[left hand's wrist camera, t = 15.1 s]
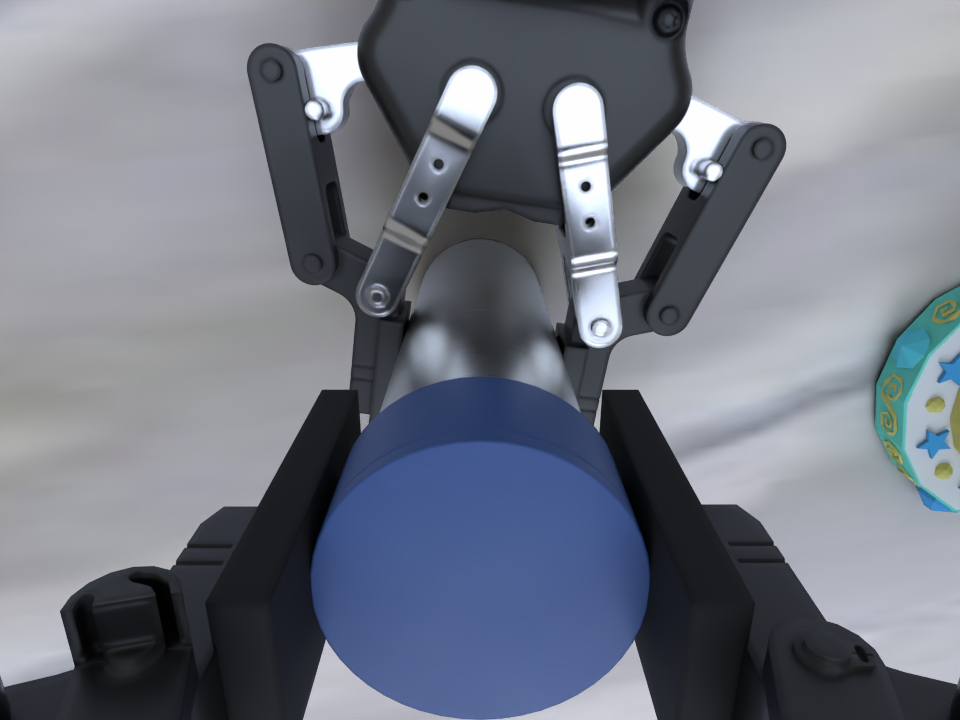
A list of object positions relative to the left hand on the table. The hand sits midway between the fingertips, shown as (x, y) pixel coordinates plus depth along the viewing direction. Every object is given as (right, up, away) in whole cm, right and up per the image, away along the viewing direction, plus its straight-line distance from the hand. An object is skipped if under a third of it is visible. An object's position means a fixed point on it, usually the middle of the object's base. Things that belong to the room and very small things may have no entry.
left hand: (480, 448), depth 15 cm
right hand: (0, 0, +7) cm, 7 cm away
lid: (0, -2, -4) cm, 4 cm away
